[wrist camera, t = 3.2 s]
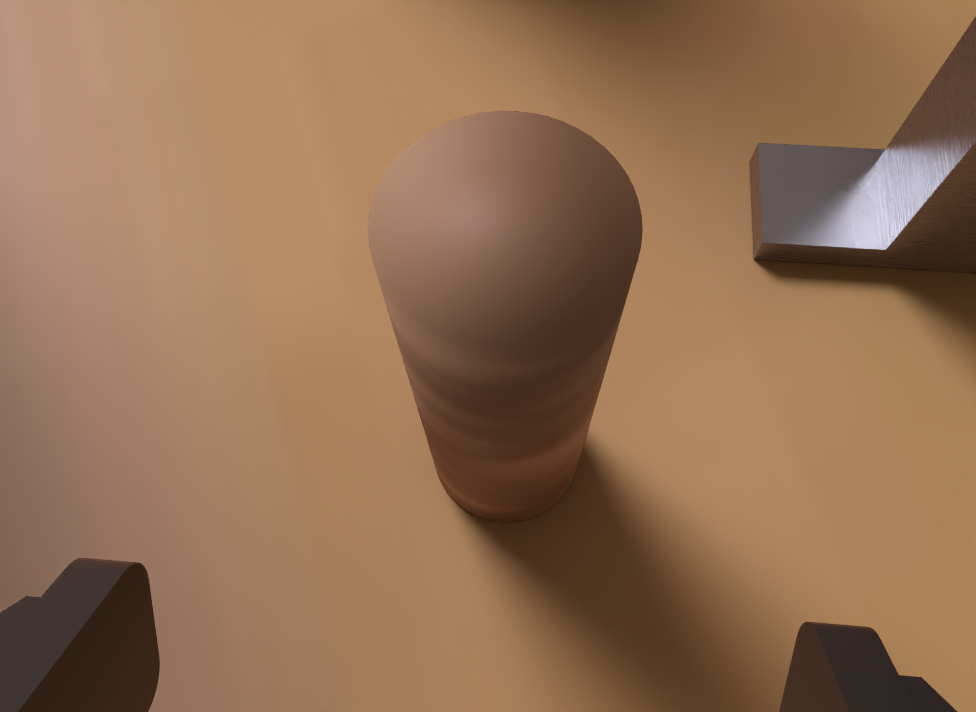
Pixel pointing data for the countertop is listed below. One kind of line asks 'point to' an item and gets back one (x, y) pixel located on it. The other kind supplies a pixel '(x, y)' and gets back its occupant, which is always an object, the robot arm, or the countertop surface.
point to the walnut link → (505, 297)
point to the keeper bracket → (879, 187)
